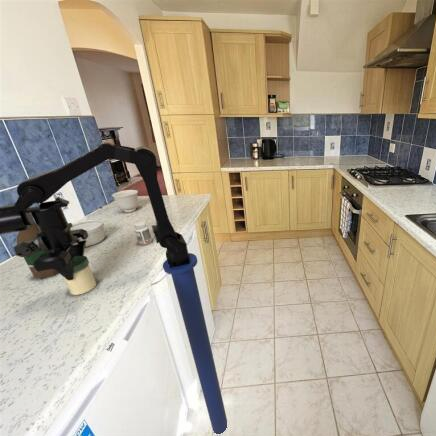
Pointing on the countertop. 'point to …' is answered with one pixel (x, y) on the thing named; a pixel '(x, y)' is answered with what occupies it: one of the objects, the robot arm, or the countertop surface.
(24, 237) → the beer bottle
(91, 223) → the ramekin
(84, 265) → the jar lid
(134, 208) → the teacup
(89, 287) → the jam jar
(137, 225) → the pill bottle
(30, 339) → the countertop surface
